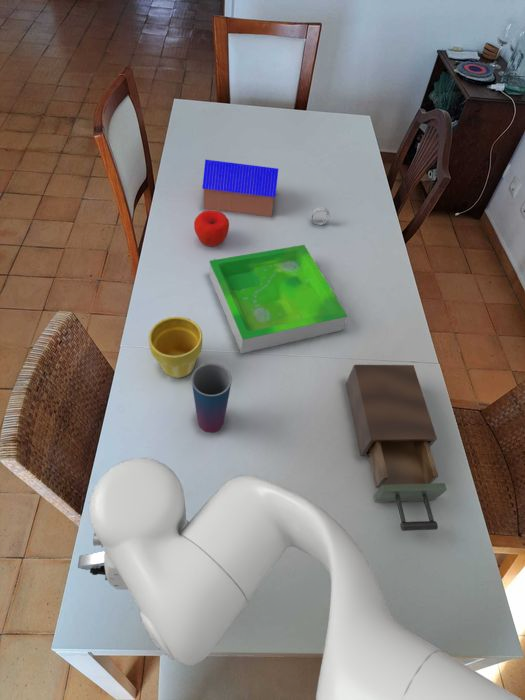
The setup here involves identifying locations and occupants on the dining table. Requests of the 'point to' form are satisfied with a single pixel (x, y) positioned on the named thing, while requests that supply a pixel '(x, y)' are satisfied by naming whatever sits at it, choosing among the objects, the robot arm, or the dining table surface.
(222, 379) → the cup
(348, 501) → the dining table surface
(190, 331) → the flower pot
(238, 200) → the house
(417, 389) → the cabinet
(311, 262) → the tray
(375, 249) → the dining table surface
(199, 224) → the apple
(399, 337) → the dining table surface
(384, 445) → the drawer
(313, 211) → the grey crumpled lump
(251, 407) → the dining table surface
